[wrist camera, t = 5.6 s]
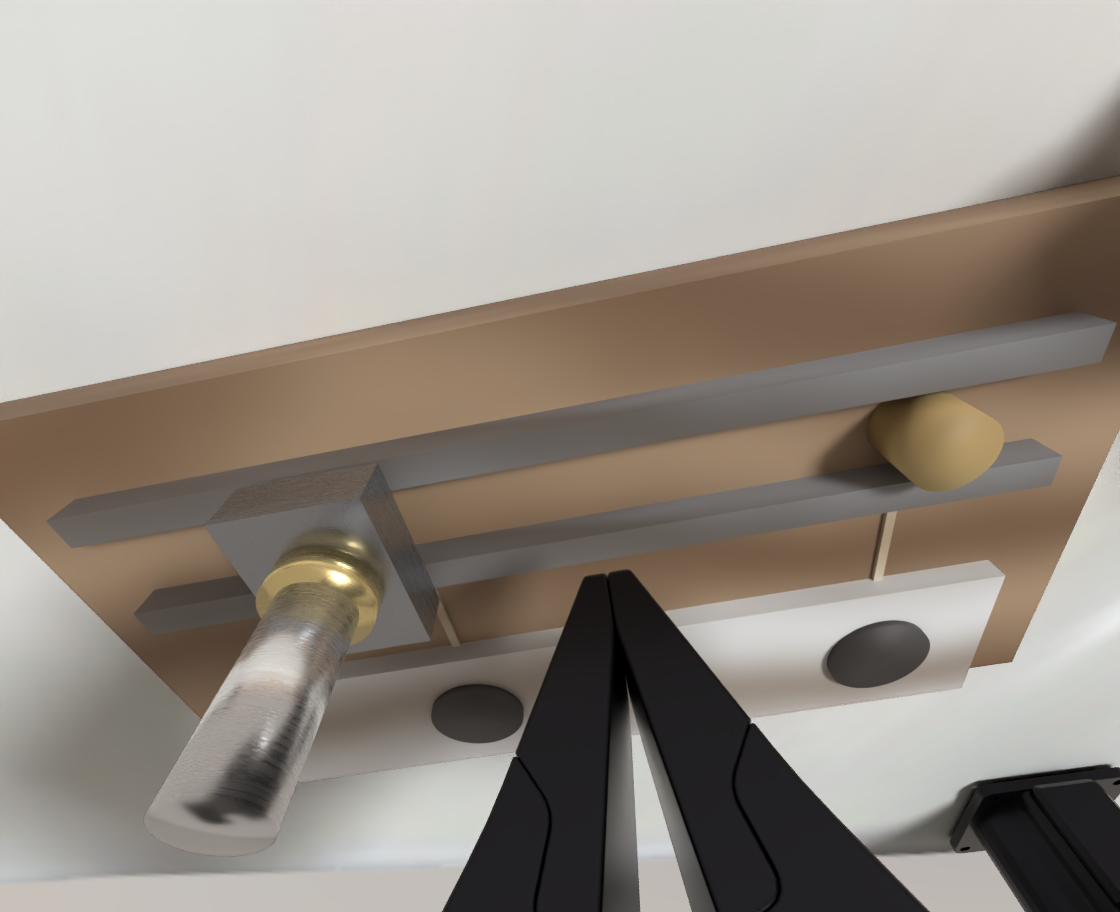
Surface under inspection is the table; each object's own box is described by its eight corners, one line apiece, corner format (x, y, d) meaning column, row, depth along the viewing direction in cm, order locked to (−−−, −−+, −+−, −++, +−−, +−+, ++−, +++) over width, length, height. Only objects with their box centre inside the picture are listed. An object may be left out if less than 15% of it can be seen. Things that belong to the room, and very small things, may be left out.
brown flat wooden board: (976, 624, 17) (1052, 706, 15) (273, 730, 19) (232, 820, 16) (1149, 169, 10) (1357, 175, 8) (-14, 406, 12) (-167, 476, 9)
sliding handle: (439, 598, 12) (379, 876, 7) (322, 618, 12) (192, 900, 8) (377, 462, 10) (240, 729, 5) (236, 488, 10) (-13, 766, 6)
